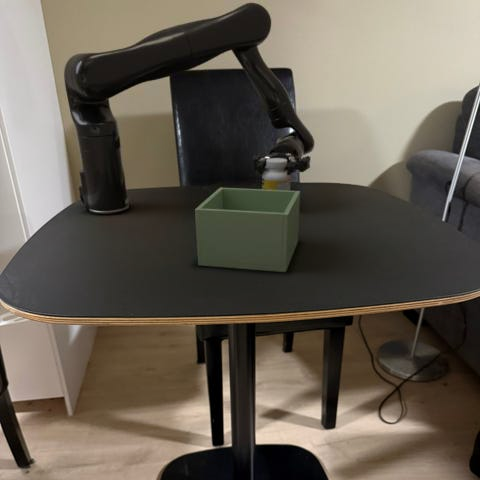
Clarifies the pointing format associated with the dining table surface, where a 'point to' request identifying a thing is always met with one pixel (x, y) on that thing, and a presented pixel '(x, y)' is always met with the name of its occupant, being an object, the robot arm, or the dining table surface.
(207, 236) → the storage bin
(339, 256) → the dining table surface
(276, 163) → the pill bottle
